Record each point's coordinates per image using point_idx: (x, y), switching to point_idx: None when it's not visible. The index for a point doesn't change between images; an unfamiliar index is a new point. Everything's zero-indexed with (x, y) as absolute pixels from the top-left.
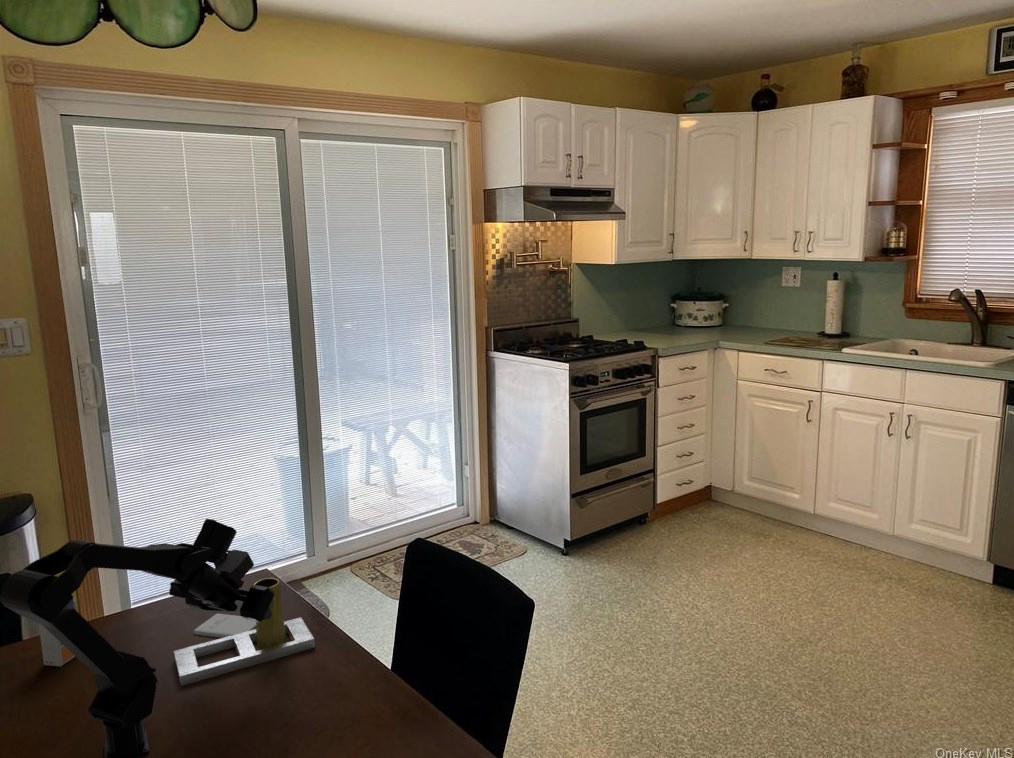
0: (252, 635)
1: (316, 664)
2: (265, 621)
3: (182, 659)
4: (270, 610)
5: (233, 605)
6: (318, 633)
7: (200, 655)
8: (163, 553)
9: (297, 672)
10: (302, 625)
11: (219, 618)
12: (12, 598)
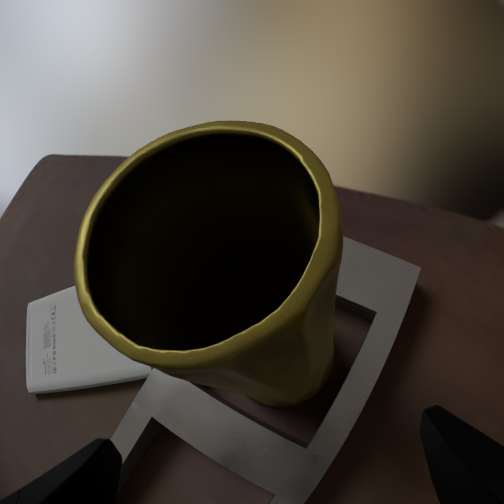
0: None
1: (491, 339)
2: (296, 382)
3: None
4: (477, 430)
5: (97, 472)
6: (348, 223)
7: (120, 489)
8: None
9: (482, 403)
10: None
11: (41, 320)
12: None
